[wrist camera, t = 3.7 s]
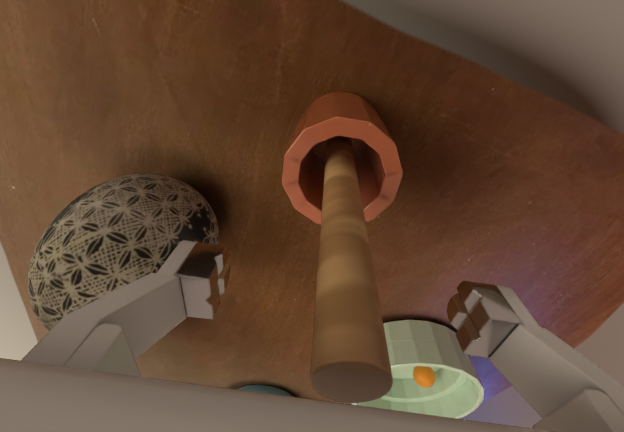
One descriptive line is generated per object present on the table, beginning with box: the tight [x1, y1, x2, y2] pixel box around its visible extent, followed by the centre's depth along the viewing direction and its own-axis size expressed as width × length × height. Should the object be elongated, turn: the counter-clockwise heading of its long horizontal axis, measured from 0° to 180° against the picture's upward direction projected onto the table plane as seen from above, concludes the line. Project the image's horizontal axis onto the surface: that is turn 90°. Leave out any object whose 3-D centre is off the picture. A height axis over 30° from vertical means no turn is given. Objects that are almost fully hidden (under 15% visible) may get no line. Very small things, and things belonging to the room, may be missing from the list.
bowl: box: [352, 320, 484, 419], centre depth 38 cm, size 16×16×6 cm
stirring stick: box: [310, 136, 393, 403], centre depth 15 cm, size 2×2×20 cm
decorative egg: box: [28, 174, 219, 331], centre depth 23 cm, size 12×12×15 cm
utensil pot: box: [282, 92, 403, 224], centre depth 20 cm, size 7×7×9 cm
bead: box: [413, 366, 436, 388], centre depth 39 cm, size 3×3×3 cm
